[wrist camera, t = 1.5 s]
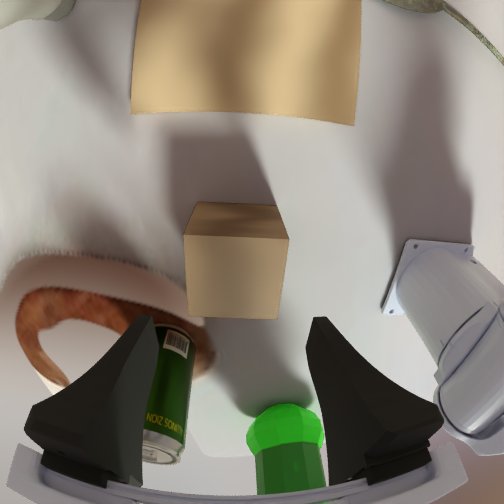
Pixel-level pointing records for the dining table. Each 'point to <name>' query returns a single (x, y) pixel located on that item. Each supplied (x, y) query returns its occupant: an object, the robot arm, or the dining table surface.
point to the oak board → (248, 57)
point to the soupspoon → (432, 3)
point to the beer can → (169, 397)
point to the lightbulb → (33, 10)
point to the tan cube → (235, 260)
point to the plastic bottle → (287, 450)
